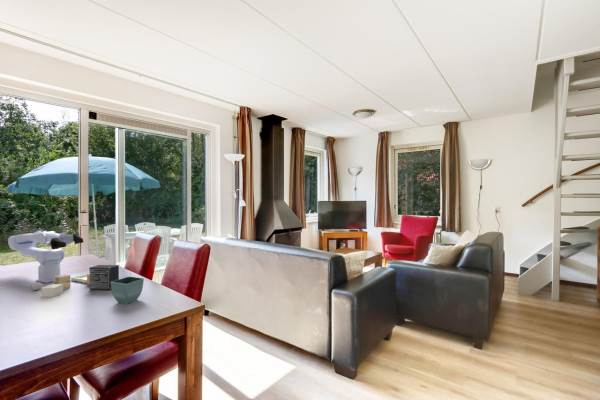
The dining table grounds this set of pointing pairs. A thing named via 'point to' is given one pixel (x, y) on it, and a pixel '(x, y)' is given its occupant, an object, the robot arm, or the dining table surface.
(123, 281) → the flower pot
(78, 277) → the tray
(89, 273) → the peach rounded cylinder
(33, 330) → the dining table surface
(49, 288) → the cream block
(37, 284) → the grey ball
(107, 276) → the small box
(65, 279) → the maple block
